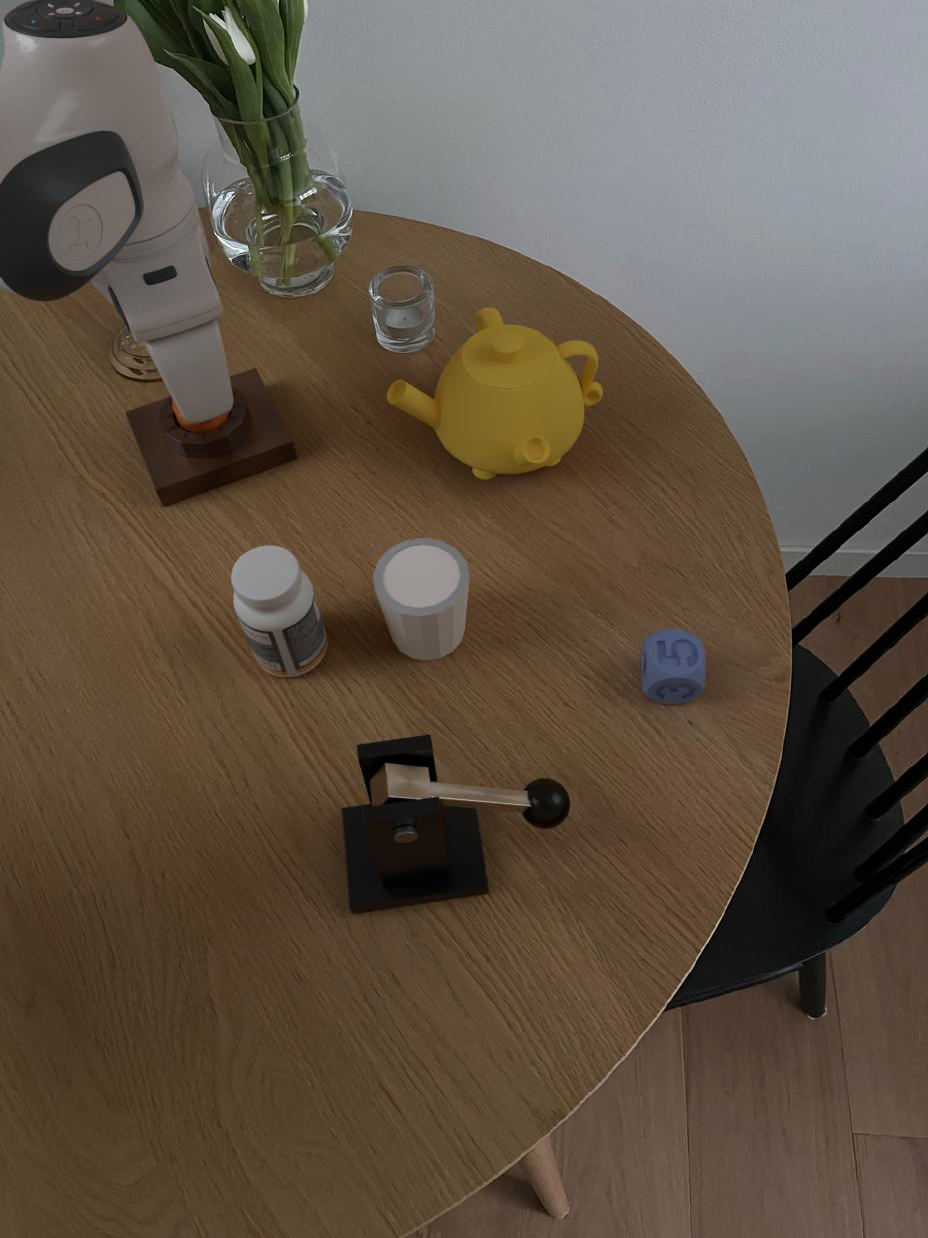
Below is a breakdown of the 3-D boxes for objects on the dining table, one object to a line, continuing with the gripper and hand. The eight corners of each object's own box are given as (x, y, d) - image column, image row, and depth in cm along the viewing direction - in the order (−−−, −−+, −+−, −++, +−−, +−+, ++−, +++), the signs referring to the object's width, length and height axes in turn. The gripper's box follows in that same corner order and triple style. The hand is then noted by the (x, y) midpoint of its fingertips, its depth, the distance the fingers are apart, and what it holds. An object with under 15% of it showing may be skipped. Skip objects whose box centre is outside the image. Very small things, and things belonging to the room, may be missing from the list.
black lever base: (473, 796, 73) (467, 713, 63) (489, 894, 69) (484, 822, 59) (343, 814, 73) (316, 734, 63) (351, 914, 69) (323, 845, 59)
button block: (163, 507, 89) (149, 475, 85) (132, 429, 94) (118, 396, 90) (297, 458, 91) (289, 425, 88) (260, 385, 96) (251, 351, 93)
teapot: (391, 465, 90) (377, 366, 81) (474, 367, 96) (469, 264, 87) (539, 531, 85) (542, 435, 76) (616, 423, 92) (627, 322, 82)
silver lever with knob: (548, 793, 70) (574, 771, 67) (558, 839, 68) (584, 818, 66) (366, 776, 64) (387, 751, 62) (370, 825, 62) (392, 802, 60)
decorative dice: (640, 657, 78) (645, 627, 75) (694, 658, 78) (702, 628, 75) (643, 704, 76) (649, 676, 73) (699, 705, 76) (707, 677, 73)
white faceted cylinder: (386, 592, 83) (376, 536, 77) (474, 592, 82) (470, 536, 77) (379, 667, 79) (368, 615, 73) (471, 668, 79) (468, 615, 73)
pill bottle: (318, 608, 82) (296, 528, 74) (337, 668, 79) (316, 591, 71) (246, 629, 81) (216, 550, 73) (262, 690, 78) (232, 615, 70)
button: (186, 440, 88) (180, 425, 86) (171, 406, 90) (165, 391, 89) (236, 422, 89) (231, 407, 87) (220, 389, 91) (215, 374, 90)
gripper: (65, 176, 80) (121, 322, 91) (135, 341, 69) (188, 482, 81) (146, 153, 81) (191, 300, 93) (227, 311, 71) (267, 454, 82)
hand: (191, 386), depth 87 cm, fingers closed
